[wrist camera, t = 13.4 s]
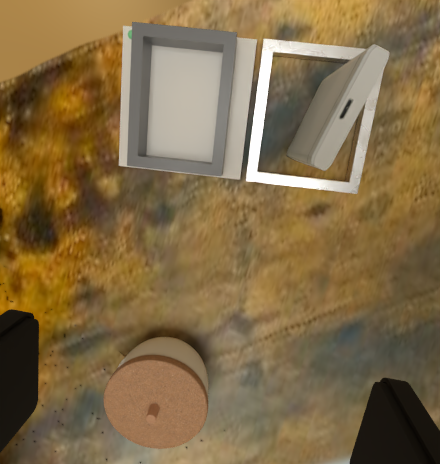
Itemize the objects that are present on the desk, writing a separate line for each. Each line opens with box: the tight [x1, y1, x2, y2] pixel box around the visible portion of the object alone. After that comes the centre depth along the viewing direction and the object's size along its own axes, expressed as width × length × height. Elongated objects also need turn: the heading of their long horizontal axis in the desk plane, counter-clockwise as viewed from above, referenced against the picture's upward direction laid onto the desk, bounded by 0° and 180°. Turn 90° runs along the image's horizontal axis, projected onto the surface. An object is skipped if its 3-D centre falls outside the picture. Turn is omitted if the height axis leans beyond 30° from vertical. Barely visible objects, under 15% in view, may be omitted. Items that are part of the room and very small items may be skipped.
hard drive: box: [287, 44, 389, 171], centre depth 29 cm, size 2×8×12 cm, turn 155°
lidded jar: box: [104, 337, 209, 449], centre depth 38 cm, size 11×11×9 cm
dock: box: [119, 22, 257, 180], centre depth 33 cm, size 13×13×4 cm
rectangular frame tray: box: [246, 39, 384, 194], centre depth 34 cm, size 11×13×2 cm
